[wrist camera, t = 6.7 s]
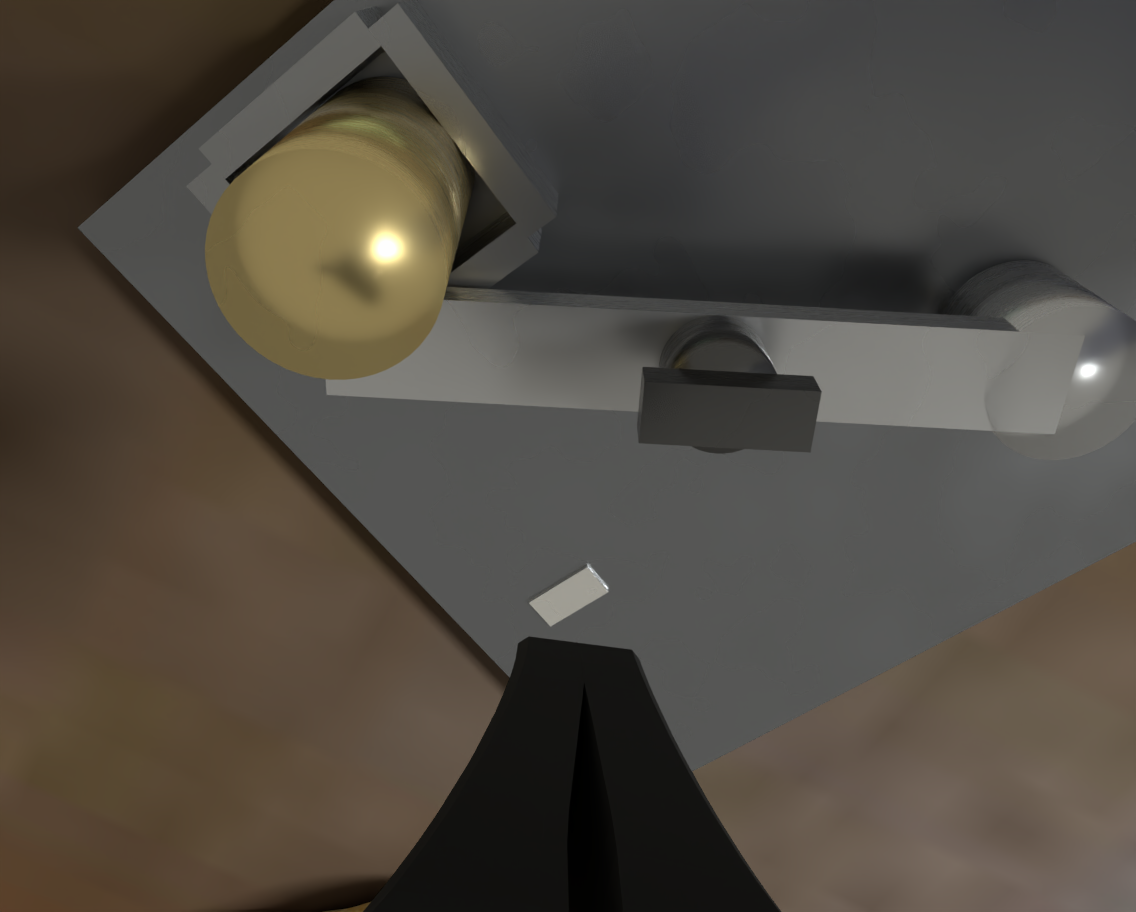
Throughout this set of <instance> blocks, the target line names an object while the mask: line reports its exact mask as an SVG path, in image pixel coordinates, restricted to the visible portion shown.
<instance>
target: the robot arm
mask: <svg viewBox="0 0 1136 912" xmlns="http://www.w3.org/2000/svg"><path fill="white" fill-rule="evenodd" d="M363 912H781V911H780V909H779V908H778V907H777V905H776V904H775V903H774V901H773V900H772V899H771V897H770V896H769V895H768V893H767V892H766V890H765V889H764V887H763V886H762V885H761V883H760V882H759V880H758V879H757V877H756V876H755V874H754V873H753V871H752V870H751V868H750V867H749V865H748V864H747V862H746V861H745V859H744V858H743V856H742V855H741V853H740V852H739V850H738V849H737V847H736V845H735V844H734V842H733V841H732V839H731V837H730V836H729V834H728V833H727V831H726V830H725V828H724V826H723V825H722V823H721V822H720V820H719V818H718V817H717V815H716V813H715V812H714V810H713V808H712V806H711V805H710V803H709V801H708V800H707V798H706V796H705V795H704V793H703V791H702V789H701V787H700V785H699V784H698V782H697V780H696V778H695V776H694V774H693V773H692V771H691V769H690V767H689V765H688V763H687V762H686V760H685V758H684V756H683V754H682V752H681V750H680V749H679V747H678V745H677V743H676V741H675V739H674V737H673V735H672V733H671V731H670V729H669V726H668V724H667V722H666V720H665V718H664V716H663V714H662V712H661V710H660V708H659V705H658V703H657V701H656V699H655V696H654V694H653V692H652V690H651V687H650V685H649V683H648V680H647V678H646V675H645V673H644V670H643V668H642V665H641V662H640V660H639V658H638V657H637V655H636V654H635V653H634V652H633V650H631V649H624V648H616V647H608V646H600V645H592V644H585V643H577V642H569V641H561V640H553V639H546V638H538V637H530V636H529V637H527V638H525V639H524V640H522V641H521V642H519V643H518V646H517V652H516V659H515V662H514V666H513V669H512V673H511V676H510V678H509V681H508V684H507V686H506V689H505V691H504V694H503V696H502V698H501V700H500V703H499V705H498V707H497V710H496V712H495V714H494V716H493V718H492V720H491V722H490V724H489V726H488V728H487V729H486V731H485V733H484V735H483V737H482V739H481V741H480V743H479V745H478V747H477V749H476V751H475V753H474V754H473V756H472V758H471V760H470V762H469V763H468V765H467V767H466V768H465V770H464V772H463V773H462V775H461V776H460V778H459V780H458V781H457V783H456V784H455V786H454V788H453V789H452V791H451V792H450V794H449V796H448V797H447V799H446V800H445V802H444V804H443V805H442V807H441V808H440V810H439V812H438V813H437V815H436V816H435V818H434V819H433V821H432V822H431V823H430V825H429V826H428V828H427V829H426V831H425V832H424V834H423V835H422V836H421V838H420V839H419V841H418V842H417V843H416V845H415V846H414V848H413V849H412V850H411V852H410V853H409V854H408V856H407V857H406V858H405V860H404V861H403V862H402V864H401V865H400V866H399V868H398V869H397V870H396V872H395V873H394V874H393V876H392V877H391V878H390V879H389V881H388V882H387V883H386V884H385V886H384V887H383V888H382V889H381V890H380V892H379V893H378V894H377V895H376V896H375V898H374V899H373V900H372V901H371V903H370V904H369V905H368V906H367V907H366V909H365V910H364V911H363Z"/></svg>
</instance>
